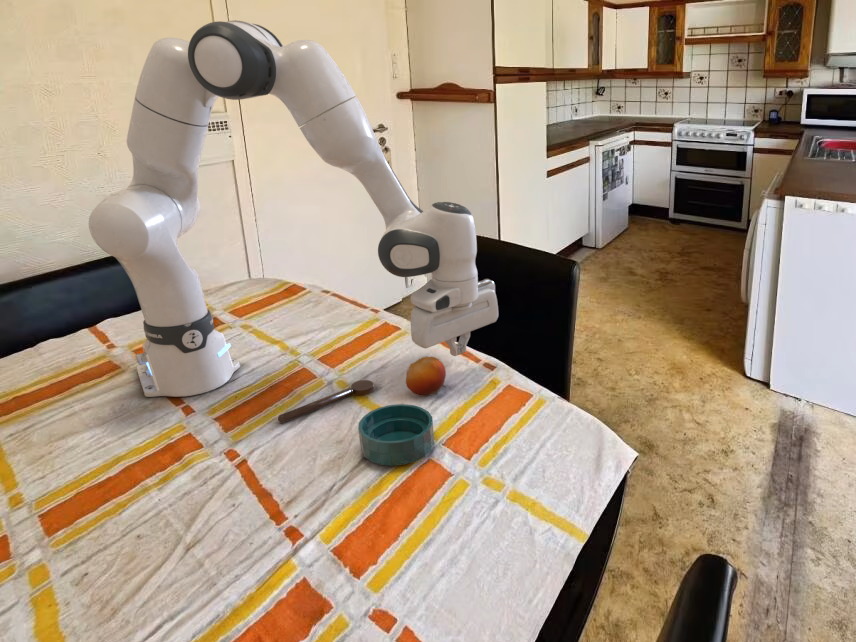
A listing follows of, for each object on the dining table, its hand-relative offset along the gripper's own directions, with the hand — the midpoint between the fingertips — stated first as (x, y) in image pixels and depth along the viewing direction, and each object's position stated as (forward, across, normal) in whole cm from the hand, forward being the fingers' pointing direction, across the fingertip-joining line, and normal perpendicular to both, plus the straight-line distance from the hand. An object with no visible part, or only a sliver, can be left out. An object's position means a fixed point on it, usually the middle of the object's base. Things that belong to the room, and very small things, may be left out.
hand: (458, 353), depth 127 cm
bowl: (+5, +25, +12) cm, 28 cm away
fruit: (+5, +9, 0) cm, 10 cm away
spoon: (+5, +25, -9) cm, 27 cm away
